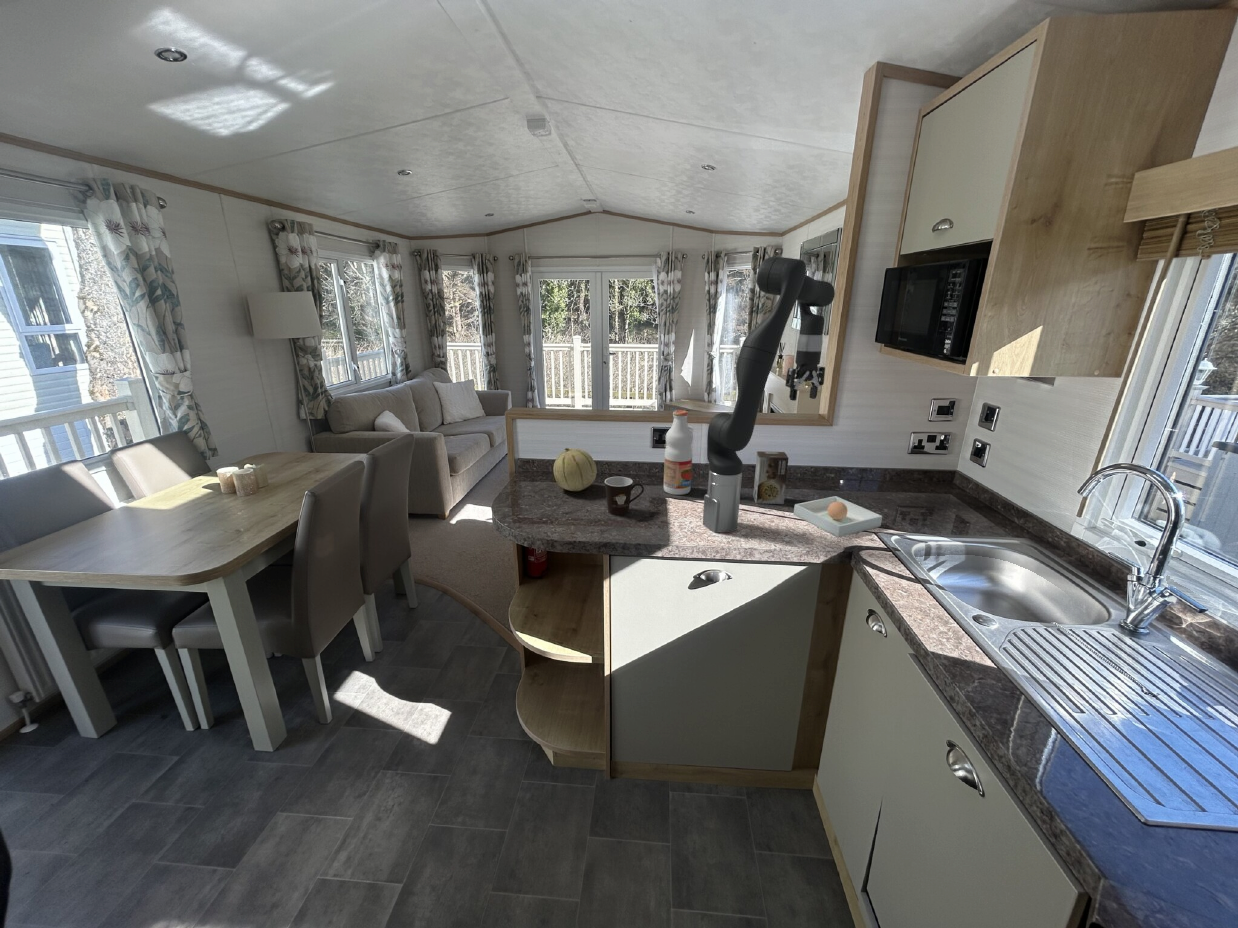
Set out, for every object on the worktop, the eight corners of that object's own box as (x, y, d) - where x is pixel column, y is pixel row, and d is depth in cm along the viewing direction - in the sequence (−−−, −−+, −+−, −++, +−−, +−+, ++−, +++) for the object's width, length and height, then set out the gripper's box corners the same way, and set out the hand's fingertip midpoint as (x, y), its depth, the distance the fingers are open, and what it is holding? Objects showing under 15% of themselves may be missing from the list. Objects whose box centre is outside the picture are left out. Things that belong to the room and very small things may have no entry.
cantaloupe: (598, 496, 167) (598, 454, 163) (554, 498, 165) (552, 455, 161) (594, 481, 181) (594, 441, 176) (553, 483, 179) (552, 443, 175)
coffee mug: (601, 515, 153) (601, 484, 150) (608, 504, 161) (608, 475, 158) (638, 519, 150) (639, 488, 147) (643, 508, 158) (644, 478, 155)
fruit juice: (666, 484, 179) (669, 407, 170) (692, 487, 176) (696, 409, 167) (660, 493, 170) (663, 413, 161) (688, 496, 168) (692, 415, 159)
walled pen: (837, 537, 139) (839, 526, 138) (793, 514, 154) (794, 504, 153) (880, 526, 146) (882, 516, 145) (834, 505, 161) (835, 496, 160)
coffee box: (779, 497, 168) (785, 451, 163) (784, 504, 162) (789, 457, 157) (752, 496, 169) (756, 450, 164) (755, 503, 163) (760, 456, 158)
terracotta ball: (836, 524, 147) (839, 506, 145) (822, 517, 151) (824, 500, 150) (850, 521, 149) (853, 504, 147) (835, 514, 154) (838, 497, 152)
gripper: (800, 351, 153) (794, 403, 158) (834, 349, 159) (827, 399, 164) (783, 349, 159) (778, 399, 165) (816, 347, 165) (810, 396, 170)
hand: (802, 399), depth 164 cm, fingers open, 8 cm apart
